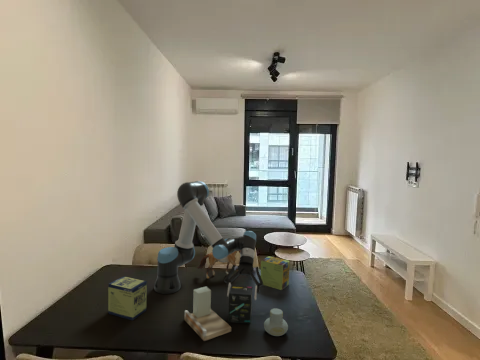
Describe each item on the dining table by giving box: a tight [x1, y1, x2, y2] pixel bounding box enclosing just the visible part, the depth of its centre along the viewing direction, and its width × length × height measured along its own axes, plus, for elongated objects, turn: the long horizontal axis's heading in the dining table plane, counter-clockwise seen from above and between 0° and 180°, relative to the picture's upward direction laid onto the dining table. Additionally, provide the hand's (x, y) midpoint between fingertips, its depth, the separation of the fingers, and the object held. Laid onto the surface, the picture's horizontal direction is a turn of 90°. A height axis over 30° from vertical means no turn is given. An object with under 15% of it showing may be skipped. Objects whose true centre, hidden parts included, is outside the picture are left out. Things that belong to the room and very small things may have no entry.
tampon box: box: [227, 285, 253, 324], centre depth 149 cm, size 11×9×15 cm
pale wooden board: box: [184, 309, 232, 342], centre depth 142 cm, size 20×14×4 cm
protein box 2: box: [260, 256, 291, 291], centre depth 189 cm, size 10×15×16 cm
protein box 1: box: [107, 276, 148, 321], centre depth 151 cm, size 10×16×16 cm
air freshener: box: [263, 307, 289, 337], centre depth 138 cm, size 11×8×10 cm
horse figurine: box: [196, 250, 241, 279], centre depth 199 cm, size 31×8×21 cm, turn 102°
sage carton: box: [192, 286, 212, 318], centre depth 148 cm, size 5×7×12 cm
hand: (241, 297), depth 149 cm, fingers open, 13 cm apart
